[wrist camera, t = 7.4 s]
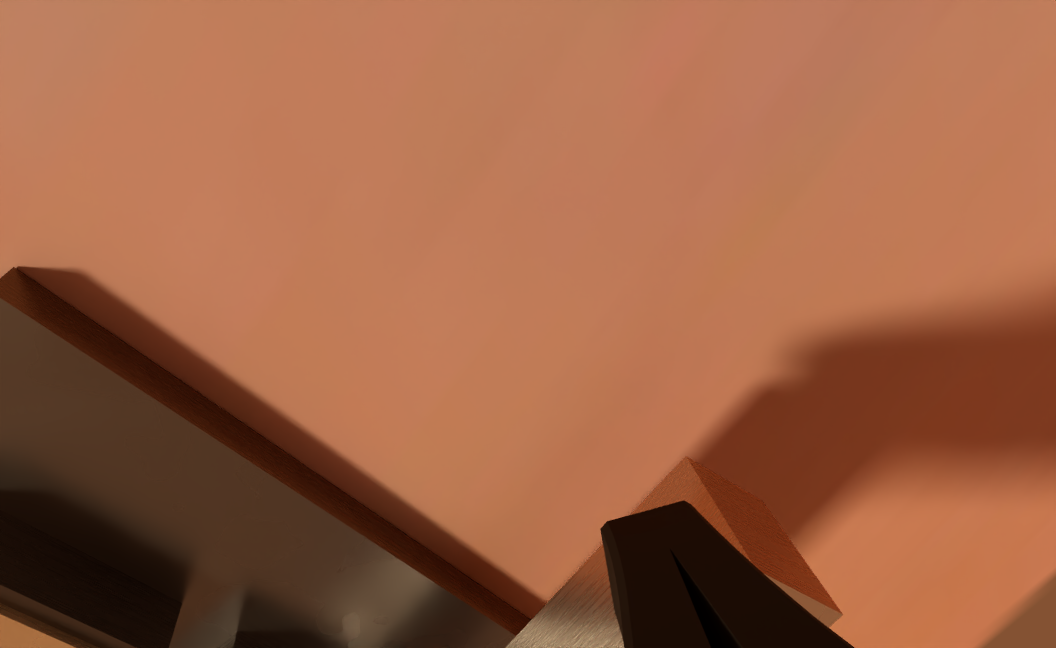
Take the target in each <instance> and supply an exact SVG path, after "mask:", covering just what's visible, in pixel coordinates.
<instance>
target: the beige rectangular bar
mask: <svg viewBox="0 0 1056 648" xmlns="http://www.w3.org/2000/svg"><path fill="white" fill-rule="evenodd" d="M683 500H685V501H686V502H688V503H690V504H692V506H693V507H694V508H695V509H696V510H697V511H698V512H699V513H700V514H701V515H702V516H703V517H704V518H705V519H706V520H707V521H708V522H709V523H710V524H711V525H712V526H713V527H714V528H715V529H716V530H717V531H718V532H719V533H720V534H721V535H722V536H723V537H724V538H725V539H726V540H728V541H729V542H730V543H731V544H732V545H733V546H734V547H735V548H736V549H737V550H738V551H739V552H740V553H741V554H743V555H744V556H745V557H746V558H747V559H748V560H749V561H750V562H751V563H752V564H753V565H755V566H756V567H757V568H758V569H759V570H760V571H761V572H762V573H764V574H765V575H766V576H767V577H768V578H769V579H770V580H772V581H773V582H774V583H775V584H776V585H777V586H779V587H780V588H781V589H782V590H783V591H785V592H786V593H787V594H788V595H789V596H790V597H792V598H793V599H794V600H795V601H796V602H798V603H799V604H800V605H801V606H802V607H803V608H805V609H806V610H807V611H808V612H810V613H811V614H812V615H813V616H814V617H816V618H817V619H818V620H819V621H821V622H822V623H823V624H824V625H826V626H827V627H828V628H829V627H830V626H831V625H832V624H833V623H834V622H836V621H837V620H838V619H839V618H840V617H841V616H842V615H843V614H842V612H841V611H840V609H839V608H838V607H837V605H836V604H835V602H834V601H833V600H832V598H831V597H830V595H829V594H828V592H827V591H826V590H825V588H824V587H823V585H822V584H821V583H820V581H819V580H818V578H817V577H816V576H815V574H814V573H813V571H812V570H811V569H810V567H809V566H808V564H807V563H806V562H805V560H804V559H803V557H802V556H801V554H800V553H799V552H798V550H797V549H796V547H795V546H794V545H793V543H792V542H791V540H790V539H789V538H788V536H787V535H786V533H785V532H784V531H783V529H782V528H781V526H780V525H779V524H778V522H777V521H776V519H775V518H774V517H773V515H772V514H771V512H770V511H769V509H768V508H767V507H766V505H765V504H764V502H763V501H762V500H760V499H759V498H757V497H755V496H754V495H752V494H750V493H748V492H747V491H745V490H743V489H742V488H740V487H738V486H736V485H735V484H733V483H731V482H730V481H728V480H726V479H724V478H723V477H721V476H719V475H718V474H716V473H714V472H712V471H711V470H709V469H707V468H706V467H704V466H702V465H700V464H699V463H697V462H695V461H694V460H692V459H690V458H688V457H687V456H685V457H684V458H683V459H682V460H681V461H680V462H679V464H678V465H677V466H676V467H675V468H674V469H673V470H672V471H671V472H670V473H669V474H668V475H667V476H666V477H665V478H664V479H663V481H662V482H661V483H660V484H659V485H658V486H657V487H656V488H655V489H654V490H653V491H652V492H651V493H650V494H649V495H648V496H647V498H646V499H645V500H644V501H643V502H642V503H641V504H640V505H639V506H638V507H637V508H636V509H635V510H634V511H633V512H632V513H631V515H632V514H636V513H640V512H643V511H647V510H650V509H654V508H658V507H661V506H665V505H669V504H672V503H676V502H679V501H683ZM505 648H624V643H623V639H622V635H621V631H620V627H619V624H618V621H617V617H616V614H615V611H614V606H613V600H612V594H611V588H610V582H609V576H608V570H607V565H606V559H605V553H604V547H603V544H602V545H601V546H600V548H599V549H598V550H597V551H596V552H595V553H594V554H593V555H592V556H591V557H590V558H589V559H588V560H587V561H586V562H585V563H584V565H583V566H582V567H581V568H580V569H579V570H578V571H577V572H576V573H575V574H574V575H573V576H572V577H571V578H570V579H569V580H568V582H567V583H566V584H565V585H564V586H563V587H562V588H561V589H560V590H559V591H558V592H557V593H556V594H555V595H554V596H553V598H552V599H551V600H550V601H549V602H548V603H547V604H546V605H545V606H544V607H543V608H542V609H541V610H540V611H539V612H538V613H537V615H536V616H535V617H534V618H533V619H532V620H531V621H530V622H529V623H528V624H527V625H526V626H525V627H524V628H523V629H522V630H521V632H520V633H519V634H518V635H517V636H516V637H515V638H514V639H513V640H512V641H511V642H510V643H509V644H508V645H507V646H506V647H505Z"/></svg>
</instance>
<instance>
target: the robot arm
mask: <svg viewBox="0 0 1056 648" xmlns="http://www.w3.org/2000/svg"><path fill="white" fill-rule="evenodd" d="M601 535H602V541H603V547H604V553H605V559H606V565H607V570H608V576H609V582H610V588H611V594H612V600H613V606H614V611H615V614H616V617H617V621H618V624H619V627H620V631H621V635H622V639H623V643H624V648H854V647H853V646H852V645H850V644H849V643H848V642H846V641H845V640H844V639H843V638H841V637H840V636H839V635H837V634H836V633H835V632H833V631H832V630H831V629H829V628H828V627H827V626H826V625H824V624H823V623H822V622H821V621H819V620H818V619H817V618H816V617H814V616H813V615H812V614H811V613H810V612H808V611H807V610H806V609H805V608H803V607H802V606H801V605H800V604H799V603H798V602H796V601H795V600H794V599H793V598H792V597H790V596H789V595H788V594H787V593H786V592H785V591H783V590H782V589H781V588H780V587H779V586H777V585H776V584H775V583H774V582H773V581H772V580H770V579H769V578H768V577H767V576H766V575H765V574H764V573H762V572H761V571H760V570H759V569H758V568H757V567H756V566H755V565H753V564H752V563H751V562H750V561H749V560H748V559H747V558H746V557H745V556H744V555H743V554H741V553H740V552H739V551H738V550H737V549H736V548H735V547H734V546H733V545H732V544H731V543H730V542H729V541H728V540H726V539H725V538H724V537H723V536H722V535H721V534H720V533H719V532H718V531H717V530H716V529H715V528H714V527H713V526H712V525H711V524H710V523H709V522H708V521H707V520H706V519H705V518H704V517H703V516H702V515H701V514H700V513H699V512H698V511H697V510H696V509H695V508H694V507H693V506H692V504H690V503H688V502H686V501H685V500H683V501H679V502H676V503H672V504H669V505H665V506H661V507H658V508H654V509H650V510H647V511H643V512H640V513H636V514H632V515H629V516H625V517H621V518H618V519H614V520H611V521H607V522H606V523H605V524H604V526H603V527H602V528H601Z"/></svg>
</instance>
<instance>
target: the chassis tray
mask: <svg viewBox="0 0 1056 648" xmlns="http://www.w3.org/2000/svg"><path fill="white" fill-rule="evenodd" d="M530 621H531V620H530V619H529V618H527V617H526V616H524V615H523V614H521V613H520V612H518V611H517V610H515V609H514V608H513V607H511V606H510V605H508V604H507V603H505V602H504V601H502V600H501V599H499V598H498V597H496V596H495V595H493V594H492V593H491V592H489V591H488V590H486V589H485V588H483V587H482V586H480V585H479V584H477V583H476V582H474V581H473V580H472V579H470V578H469V577H467V576H466V575H464V574H463V573H461V572H460V571H458V570H457V569H455V568H454V567H452V566H451V565H450V564H448V563H447V562H445V561H444V560H442V559H441V558H439V557H438V556H436V555H435V554H433V553H432V552H430V551H429V550H428V549H426V548H425V547H423V546H422V545H420V544H419V543H417V542H416V541H414V540H413V539H411V538H410V537H408V536H407V535H406V534H404V533H403V532H401V531H400V530H398V529H397V528H395V527H394V526H392V525H391V524H389V523H388V522H387V521H385V520H384V519H382V518H381V517H379V516H378V515H376V514H375V513H373V512H372V511H370V510H369V509H367V508H366V507H365V506H363V505H362V504H360V503H359V502H357V501H356V500H354V499H353V498H351V497H350V496H348V495H347V494H345V493H344V492H343V491H341V490H340V489H338V488H337V487H335V486H334V485H332V484H331V483H329V482H328V481H326V480H325V479H324V478H322V477H321V476H319V475H318V474H316V473H315V472H313V471H312V470H310V469H309V468H307V467H306V466H304V465H303V464H302V463H300V462H299V461H297V460H296V459H294V458H293V457H291V456H290V455H288V454H287V453H285V452H284V451H282V450H281V449H280V448H278V447H277V446H275V445H274V444H272V443H271V442H269V441H268V440H266V439H265V438H263V437H262V436H261V435H259V434H258V433H256V432H255V431H253V430H252V429H250V428H249V427H247V426H246V425H244V424H243V423H241V422H240V421H239V420H237V419H236V418H234V417H233V416H231V415H230V414H228V413H227V412H225V411H224V410H222V409H221V408H219V407H218V406H217V405H215V404H214V403H212V402H211V401H209V400H208V399H206V398H205V397H203V396H202V395H200V394H199V393H198V392H196V391H195V390H193V389H192V388H190V387H189V386H187V385H186V384H184V383H183V382H181V381H180V380H178V379H177V378H176V377H174V376H173V375H171V374H170V373H168V372H167V371H165V370H164V369H162V368H161V367H159V366H158V365H156V364H155V363H154V362H152V361H151V360H149V359H148V358H146V357H145V356H143V355H142V354H140V353H139V352H137V351H136V350H135V349H133V348H132V347H130V346H129V345H127V344H126V343H124V342H123V341H121V340H120V339H118V338H117V337H115V336H114V335H113V334H111V333H110V332H108V331H107V330H105V329H104V328H102V327H101V326H99V325H98V324H96V323H95V322H93V321H92V320H91V319H89V318H88V317H86V316H85V315H83V314H82V313H80V312H79V311H77V310H76V309H74V308H73V307H71V306H70V305H69V304H67V303H66V302H64V301H63V300H61V299H60V298H58V297H57V296H55V295H54V294H52V293H51V292H50V291H48V290H47V289H45V288H44V287H42V286H41V285H39V284H38V283H36V282H35V281H33V280H32V279H30V278H29V277H28V276H26V275H25V274H23V273H22V272H20V271H19V270H17V269H16V268H14V267H13V268H12V269H11V270H10V271H8V272H7V273H6V274H5V275H4V276H3V277H1V278H0V648H505V647H506V646H507V645H508V644H509V643H510V642H511V641H512V640H513V639H514V638H515V637H516V636H517V635H518V634H519V633H520V632H521V630H522V629H523V628H524V627H525V626H526V625H527V624H528V623H529V622H530Z"/></svg>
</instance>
